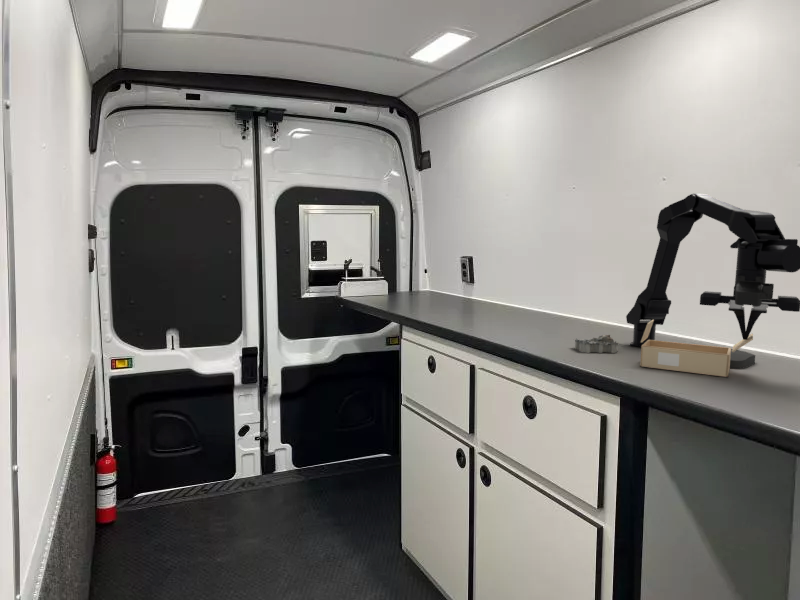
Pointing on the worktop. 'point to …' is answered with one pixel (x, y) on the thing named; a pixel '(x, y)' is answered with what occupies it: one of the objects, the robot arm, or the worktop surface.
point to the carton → (686, 357)
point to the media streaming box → (741, 359)
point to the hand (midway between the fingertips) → (745, 339)
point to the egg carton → (597, 344)
